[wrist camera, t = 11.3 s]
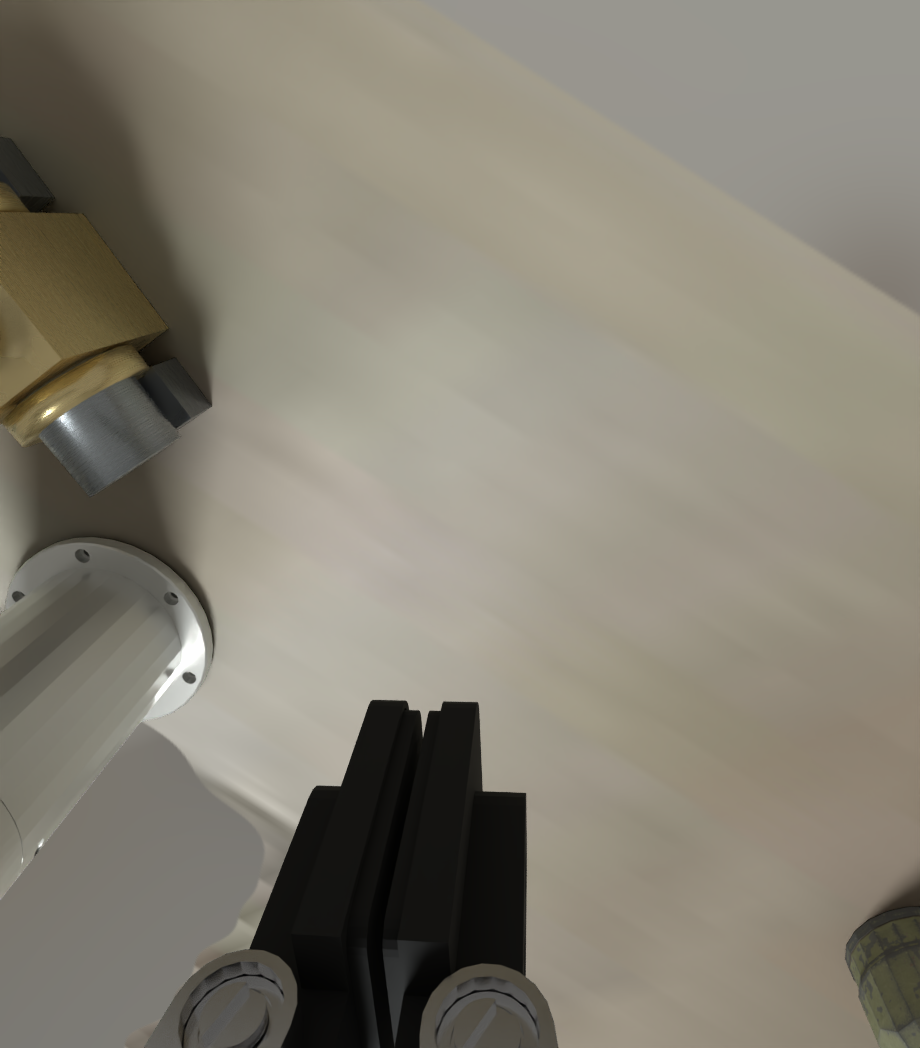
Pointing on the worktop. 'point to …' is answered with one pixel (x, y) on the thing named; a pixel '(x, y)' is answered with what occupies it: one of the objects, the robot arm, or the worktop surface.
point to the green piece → (889, 975)
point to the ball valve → (78, 342)
